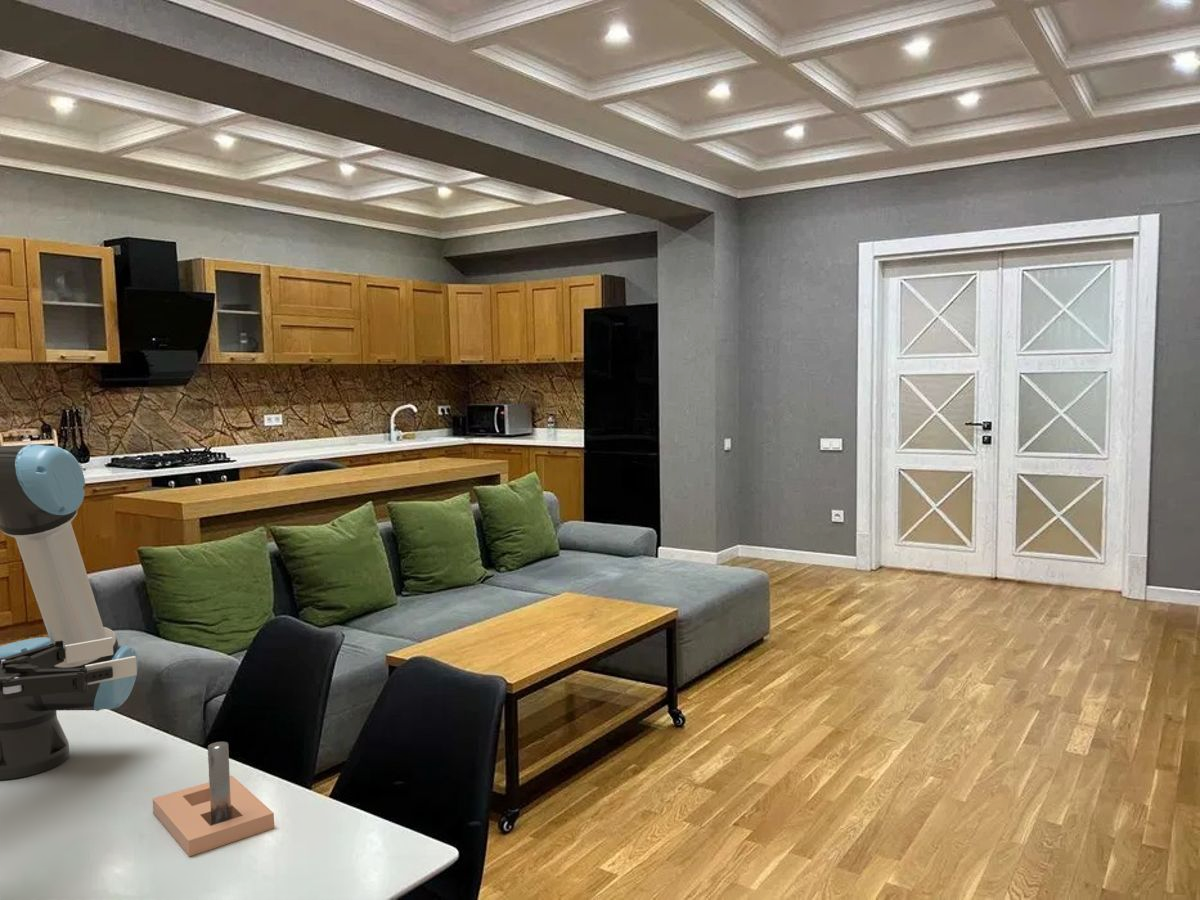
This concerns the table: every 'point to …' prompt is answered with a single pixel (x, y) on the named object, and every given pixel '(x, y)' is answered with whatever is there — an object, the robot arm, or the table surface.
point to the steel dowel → (219, 782)
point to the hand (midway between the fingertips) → (124, 655)
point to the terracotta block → (192, 817)
